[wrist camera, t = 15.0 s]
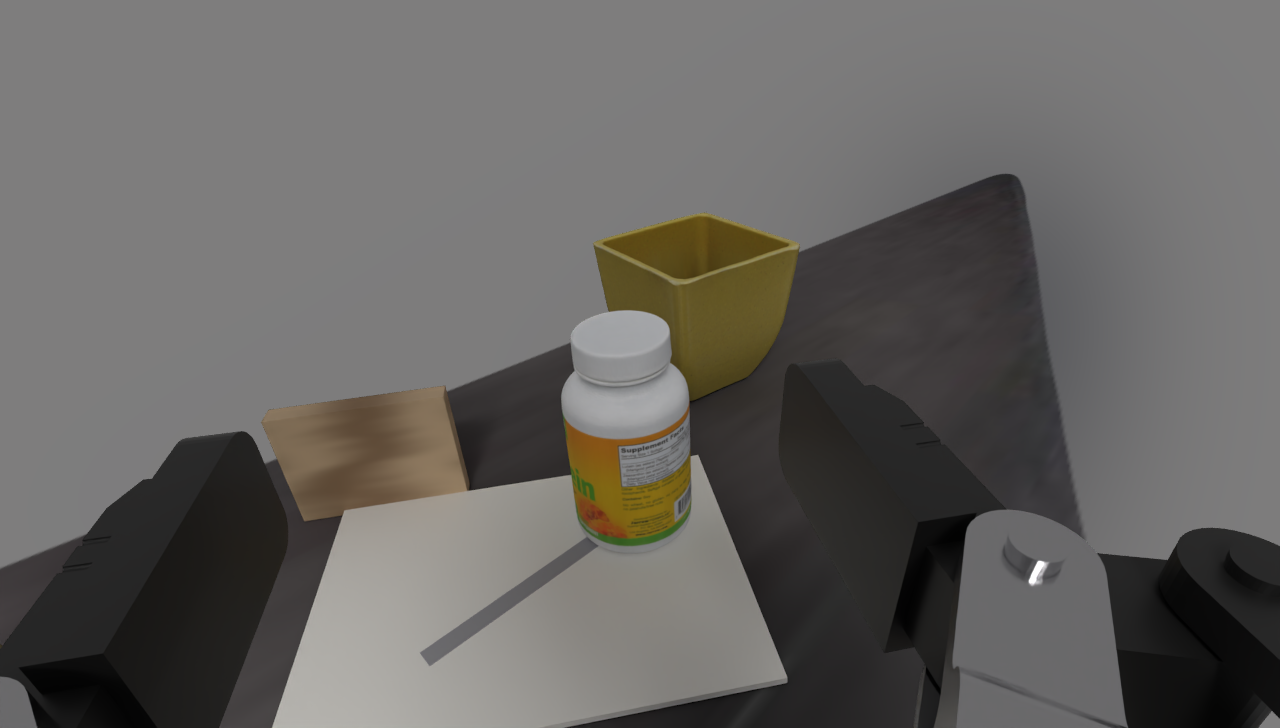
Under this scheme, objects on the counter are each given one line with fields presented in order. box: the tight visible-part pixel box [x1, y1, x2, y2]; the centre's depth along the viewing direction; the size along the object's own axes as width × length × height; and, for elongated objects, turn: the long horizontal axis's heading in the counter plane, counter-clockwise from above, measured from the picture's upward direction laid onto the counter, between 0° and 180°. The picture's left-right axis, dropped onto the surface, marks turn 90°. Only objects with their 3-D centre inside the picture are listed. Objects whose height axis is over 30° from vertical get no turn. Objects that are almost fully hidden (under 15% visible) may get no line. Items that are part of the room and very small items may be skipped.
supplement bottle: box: [561, 310, 692, 554], centre depth 28 cm, size 5×5×10 cm
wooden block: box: [261, 386, 470, 521], centre depth 31 cm, size 8×1×6 cm, turn 100°
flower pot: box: [593, 213, 800, 401], centre depth 39 cm, size 9×9×9 cm
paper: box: [272, 455, 787, 728], centre depth 27 cm, size 18×13×1 cm
